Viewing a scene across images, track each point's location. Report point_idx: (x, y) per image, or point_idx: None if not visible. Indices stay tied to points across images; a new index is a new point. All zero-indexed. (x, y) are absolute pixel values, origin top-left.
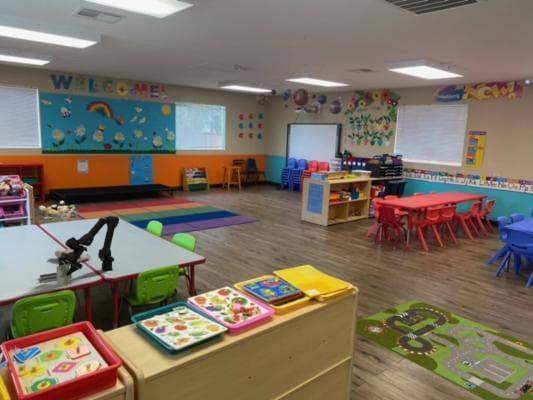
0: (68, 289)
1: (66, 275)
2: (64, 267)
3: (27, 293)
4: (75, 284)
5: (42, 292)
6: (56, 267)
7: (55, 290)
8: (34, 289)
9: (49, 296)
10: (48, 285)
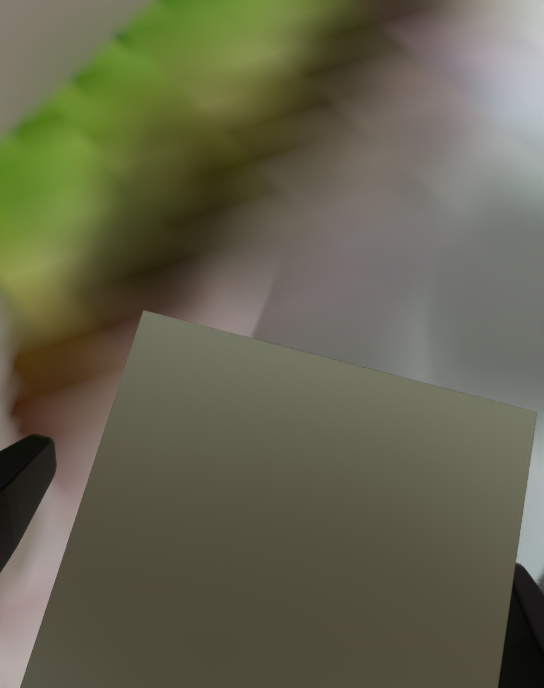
0: (26, 344)
1: (34, 441)
2: (68, 597)
3: (486, 45)
4: (49, 583)
5: (325, 129)
6: (508, 416)
7: (200, 244)
8: (520, 175)
9: (128, 56)
10: (461, 370)
